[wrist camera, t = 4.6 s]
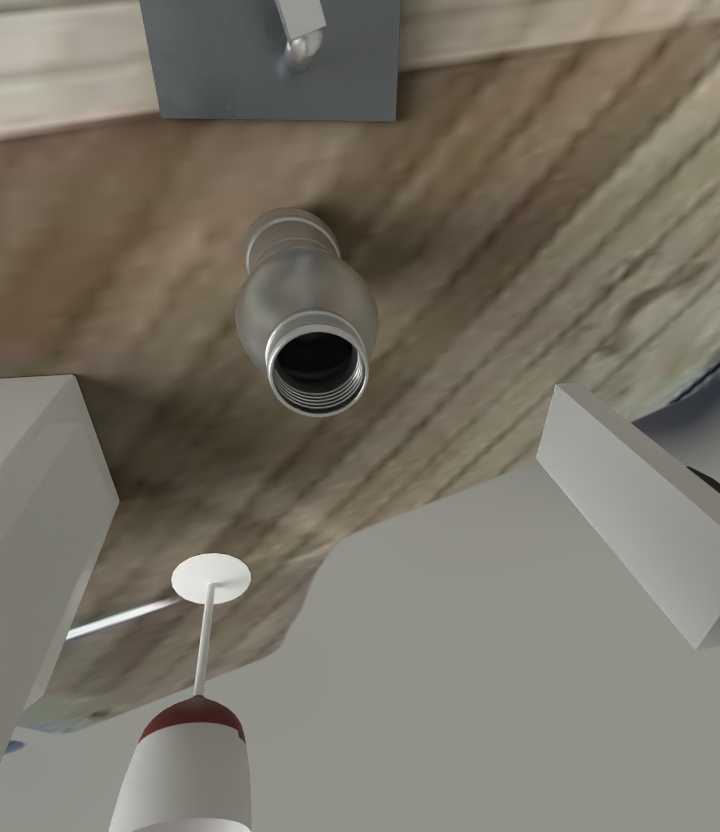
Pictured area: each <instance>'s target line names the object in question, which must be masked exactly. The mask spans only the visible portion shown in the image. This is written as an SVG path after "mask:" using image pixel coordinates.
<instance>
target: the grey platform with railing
mask: <svg viewBox="0 0 720 832" xmlns="http://www.w3.org/2000/svg"><path fill="white" fill-rule="evenodd" d="M139 1H140V6H141V12H142V17H143V22H144V28H145V33H146V38H147V44H148V49H149V54H150V60H151V65H152V70H153V76H154V81H155V86H156V92H157V97H158V102H159V108H160V113H161V118H165V119H222V120H292V121H361V122H395V121H396V101H397V78H398V54H399V31H400V7H401V0H139Z"/></svg>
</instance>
